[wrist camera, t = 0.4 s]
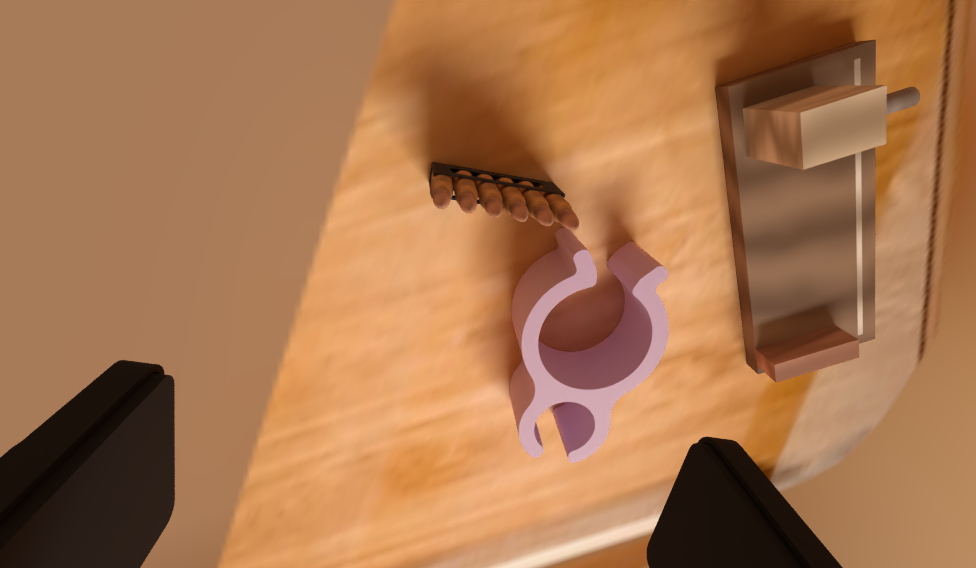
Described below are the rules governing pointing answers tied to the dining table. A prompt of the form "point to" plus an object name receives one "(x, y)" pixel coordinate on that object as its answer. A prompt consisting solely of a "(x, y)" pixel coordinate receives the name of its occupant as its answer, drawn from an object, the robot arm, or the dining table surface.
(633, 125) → the dining table surface
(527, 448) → the clip
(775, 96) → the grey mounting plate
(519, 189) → the ammunition clip
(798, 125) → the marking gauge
